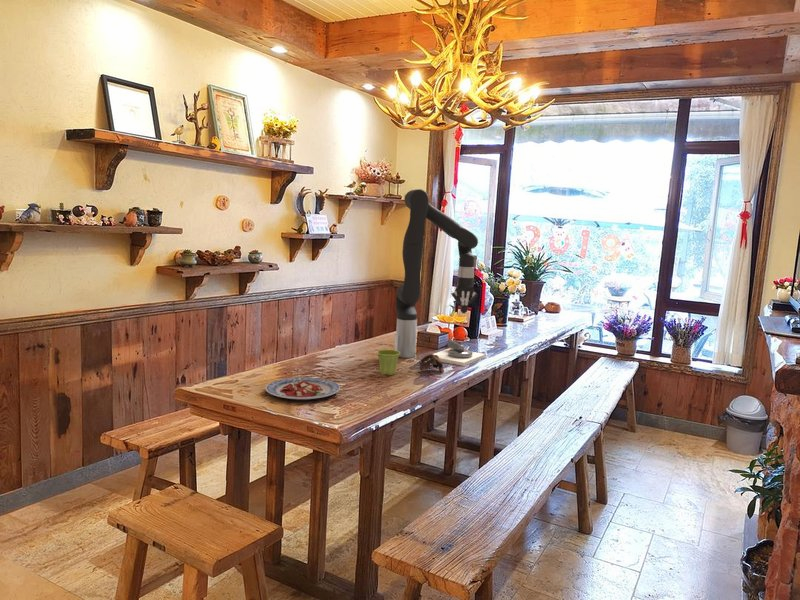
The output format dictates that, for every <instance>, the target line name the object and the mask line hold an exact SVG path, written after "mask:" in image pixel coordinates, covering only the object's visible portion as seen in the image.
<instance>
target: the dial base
mask: <svg viewBox="0 0 800 600" xmlns="http://www.w3.org/2000/svg"><path fill="white" fill-rule="evenodd" d="M451 349H452V348H450V347H448V348H446V349H444V350H441V351H438V352H435V353H433V354H434V355H437V356H438V357H439V359H440V360H441V362H442V363H445V364H451V365H457V366H461V367H465V366H467V365H470V364H472V363H475V362H477V361H480V360H482V359H484V358H486V353H482V352H475V351H472V352H473V353H472V357H468V358H458V357H452V356H449V355H448V351H449V350H451ZM429 360H430V358H429V359H428V361H429Z"/></svg>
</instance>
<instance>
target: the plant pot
mask: <svg viewBox="0 0 800 600" xmlns="http://www.w3.org/2000/svg"><path fill="white" fill-rule="evenodd" d="M376 354H377V357H378V363H379V372H380V374H381V375H383V376H384V375H388V376H392V375H395V374H396V371H397V367H398V366H397V365H398V360H399V359H398V358H400V357H399V354H400V352H399V351H395V349H382V350H377V351H376Z"/></svg>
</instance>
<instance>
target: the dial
mask: <svg viewBox="0 0 800 600" xmlns="http://www.w3.org/2000/svg"><path fill="white" fill-rule="evenodd" d="M447 347H448V348H452V349H451V350H449V351H448V355H449V356H452V357H458V358H468V357H472V353H473V352H474V351H471V350H468V349H465V345H464V344H461V343H458V341H455V340H453V339H447Z"/></svg>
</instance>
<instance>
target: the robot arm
mask: <svg viewBox="0 0 800 600" xmlns="http://www.w3.org/2000/svg"><path fill="white" fill-rule="evenodd" d="M403 199H404V204H405V206H406V207H407V208H408V210H409V222H408V225H407V228H406V231H405V234H404V237H403V242H402V253H401V254H402V263H403V267H404V280H403V283H401V284H399V286H398V287H397V289H396V293H395V312H396V328H395V329H396V331H395V332H396V333H395V334H394V350H395V351H399V352H400V354H399V357H398V358H406V359H407V358H409V359H410V358H414V357H416V355H417V353H416V352H417V350H416V348H417V331H418V330H417V328H418V312H417V310H416V304H417V303H418V302H419V301H420V299H421V298H420V297H421V273H422V266H423V265H422V264H423V255H424V247H425V246H424V244H425V243H424V242H425V232H426V222H427V221H426V220H428V221H430V222H431V223H432V224H434V225H435V226H436V227H437V228H438V229H440V230H441V231H442V232H444V233H445V234H446V235H447V236H448V237H450V238H452V239H454V240H456V241H457V247H458V248H457V249H458V256H459V258H458V259H459V260H458V261H459V262H458V269H457V283H456V285H457V286H456V289H455V291H453V292H451V294H450V295H451V297H452V298H453V300H455V302H456V303H457V304H458V305H460V312H461V313H462V314H467V312H468V306H469V305H472V304H473V302H474V301H475V300H476V299H477V298H478V297H479V294H478V293H477V292H476V291H475V289H474V281H475V280H474V279H475V255H474V254H473V251H472V249H475V248H476V247H477V246H478V243H479V240H478V236H476V235H475V234H474V233H473V232H472V231H470V230H468V229H467V228H466V227H464V226H462V225H461V224H459V222H458V221H456V220H455V219H453V218H452V217H451V216H449V215H447V214H446V213H444V212H443V211H441V210H439V209H438V208H436V207H435V206H433V205H432V204H431V203H430V198H429V194H428V192H427V191H425V190H424V189H421V188H417V189H411V190H409V191H408V192H407V193H406V194H405V195H404V198H403ZM457 296H459V297H457Z"/></svg>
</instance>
